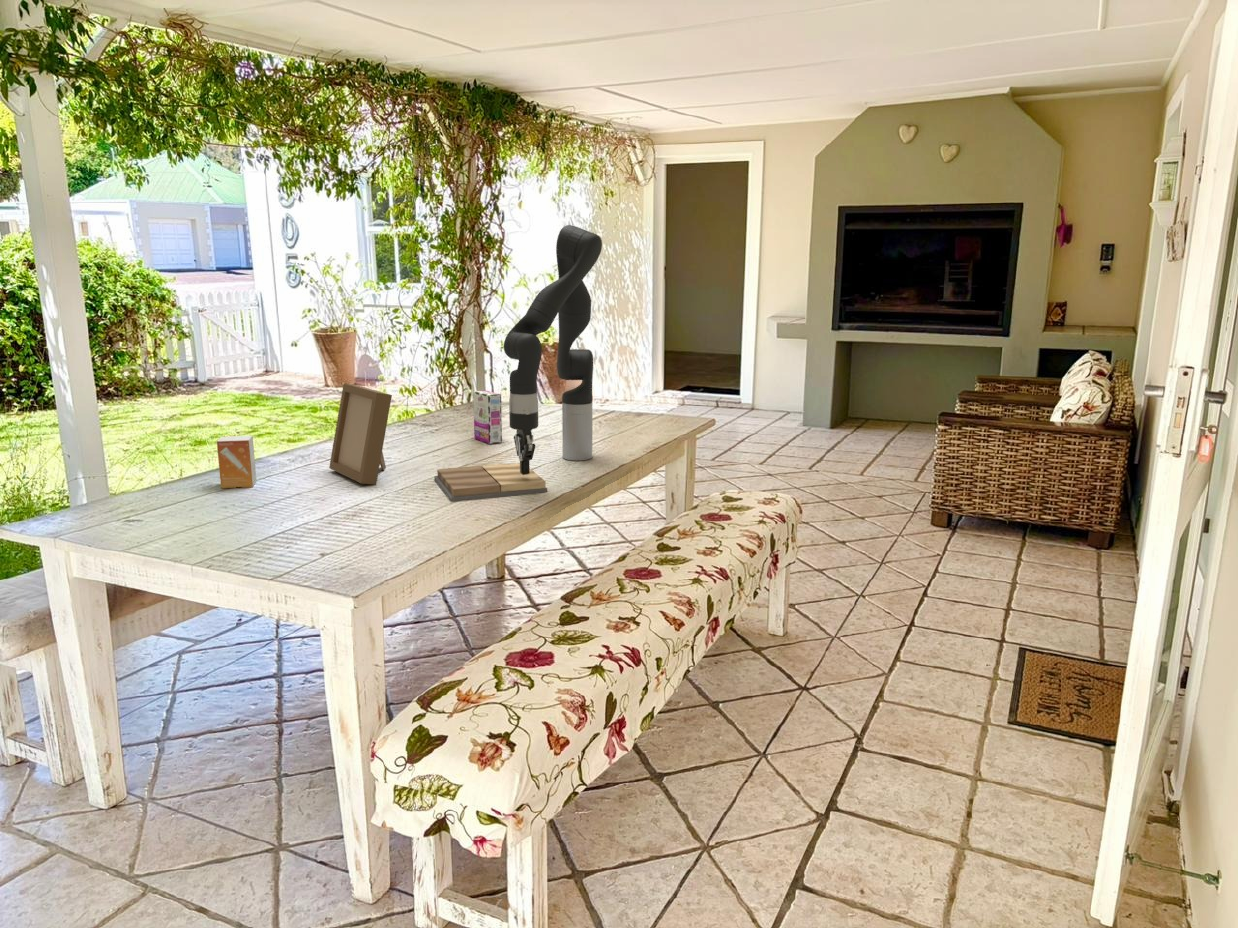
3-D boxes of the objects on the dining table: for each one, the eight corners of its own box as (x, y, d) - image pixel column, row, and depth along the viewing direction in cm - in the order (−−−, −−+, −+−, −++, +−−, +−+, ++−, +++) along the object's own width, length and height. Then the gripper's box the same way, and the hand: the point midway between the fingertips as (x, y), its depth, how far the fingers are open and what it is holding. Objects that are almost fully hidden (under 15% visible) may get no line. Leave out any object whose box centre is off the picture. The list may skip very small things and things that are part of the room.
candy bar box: (503, 443, 287) (502, 394, 283) (489, 444, 284) (488, 395, 281) (486, 437, 296) (485, 389, 292) (473, 439, 293) (472, 390, 289)
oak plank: (481, 472, 245) (481, 465, 244) (522, 469, 249) (522, 462, 249) (501, 491, 225) (501, 484, 224) (545, 488, 229) (545, 481, 229)
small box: (220, 489, 230) (215, 441, 227) (225, 483, 236) (220, 436, 233) (253, 487, 232) (249, 439, 229) (257, 481, 238) (252, 434, 235)
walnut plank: (437, 476, 240) (437, 469, 240) (480, 472, 245) (480, 465, 244) (453, 496, 220) (453, 489, 220) (499, 492, 225) (499, 484, 224)
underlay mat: (434, 479, 241) (434, 476, 240) (523, 471, 250) (523, 468, 250) (451, 501, 220) (450, 497, 220) (547, 492, 229) (547, 488, 229)
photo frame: (361, 487, 232) (356, 394, 227) (329, 471, 249) (324, 384, 243) (412, 479, 242) (408, 389, 236) (378, 464, 258) (374, 380, 252)
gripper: (503, 406, 231) (504, 469, 236) (516, 415, 219) (517, 481, 224) (530, 404, 234) (531, 467, 238) (544, 413, 222) (545, 478, 226)
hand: (524, 473), depth 231 cm, fingers closed
